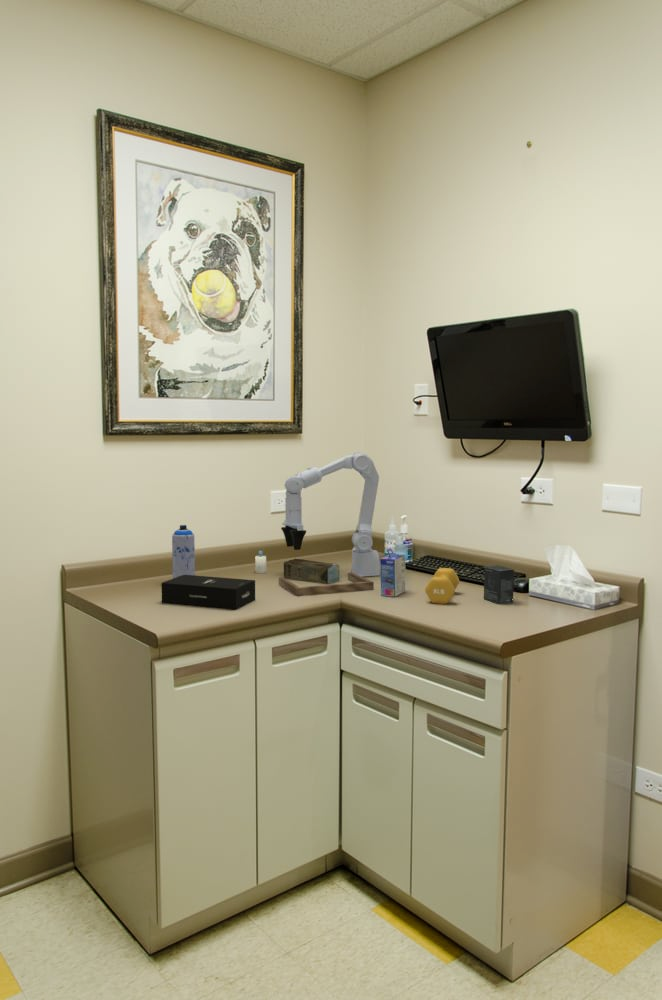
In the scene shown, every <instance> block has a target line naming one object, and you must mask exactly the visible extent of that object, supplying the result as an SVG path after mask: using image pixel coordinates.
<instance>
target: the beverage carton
mask: <svg viewBox="0 0 662 1000" xmlns="http://www.w3.org/2000/svg"><path fill="white" fill-rule="evenodd" d="M283 578H285V579H287V580H294V581H295V580H296V581H300V582H301V581H302V582H309V583H316V584H322V585H331V584H333V583H336V582H339V581H340V564H336V563H332V562H331V563H329V562H323V561H315V560H309V559H308V560H307V559H301V558H293V559H290V560H288V561H284V562H283Z"/></svg>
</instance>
